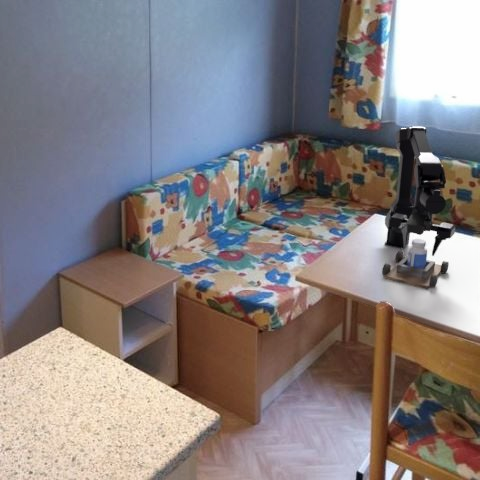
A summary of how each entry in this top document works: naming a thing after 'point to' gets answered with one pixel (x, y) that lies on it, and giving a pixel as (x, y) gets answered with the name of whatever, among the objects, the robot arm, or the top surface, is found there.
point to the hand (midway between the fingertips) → (418, 252)
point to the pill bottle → (417, 254)
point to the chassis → (414, 272)
